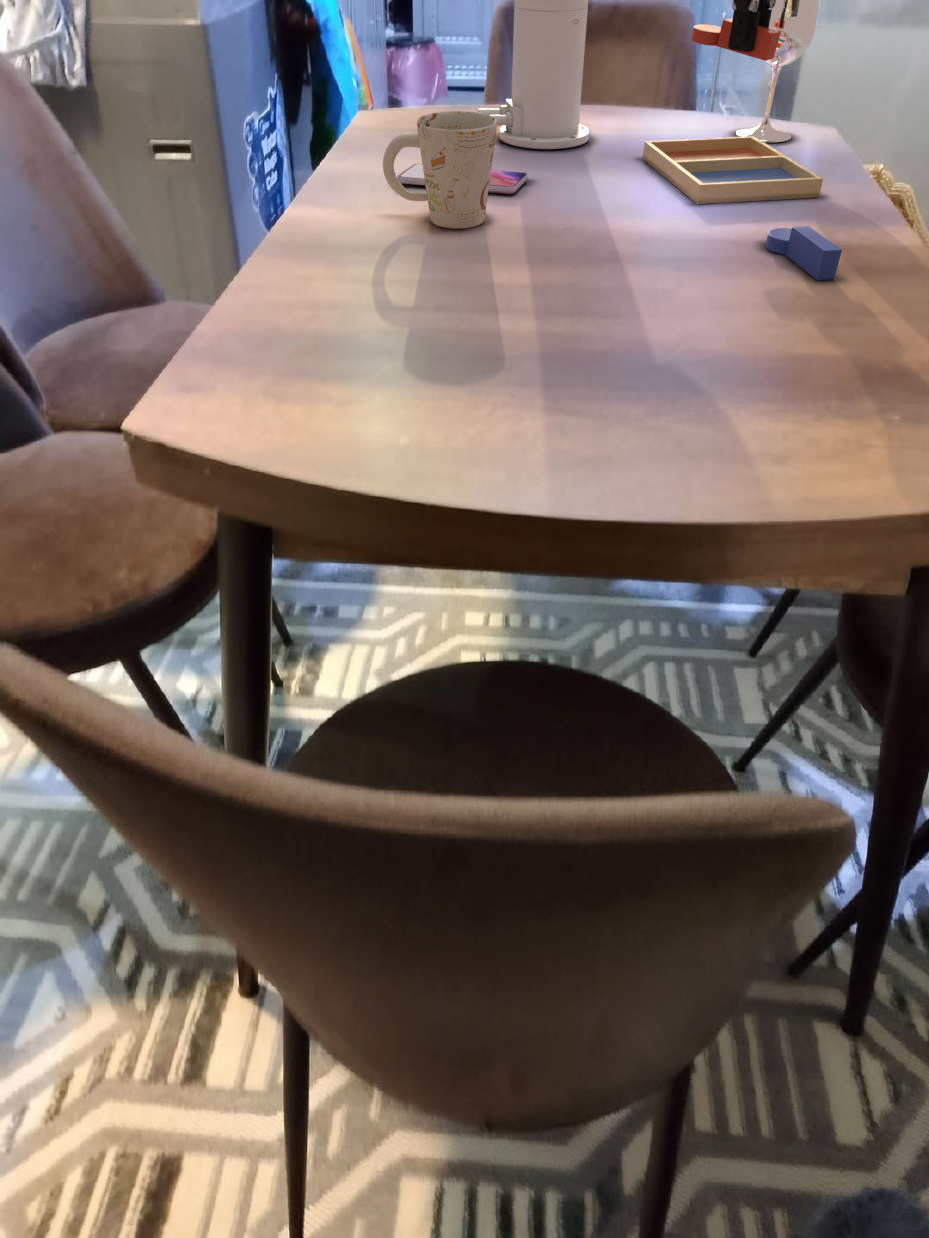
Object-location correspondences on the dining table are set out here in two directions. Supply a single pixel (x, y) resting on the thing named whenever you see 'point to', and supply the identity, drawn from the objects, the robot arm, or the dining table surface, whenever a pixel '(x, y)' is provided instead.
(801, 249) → the blue foam brick
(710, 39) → the rust-red brick
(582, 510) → the dining table surface
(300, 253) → the dining table surface
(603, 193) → the dining table surface
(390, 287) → the dining table surface
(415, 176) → the smartphone
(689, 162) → the tray
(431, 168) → the mug
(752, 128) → the wineglass
